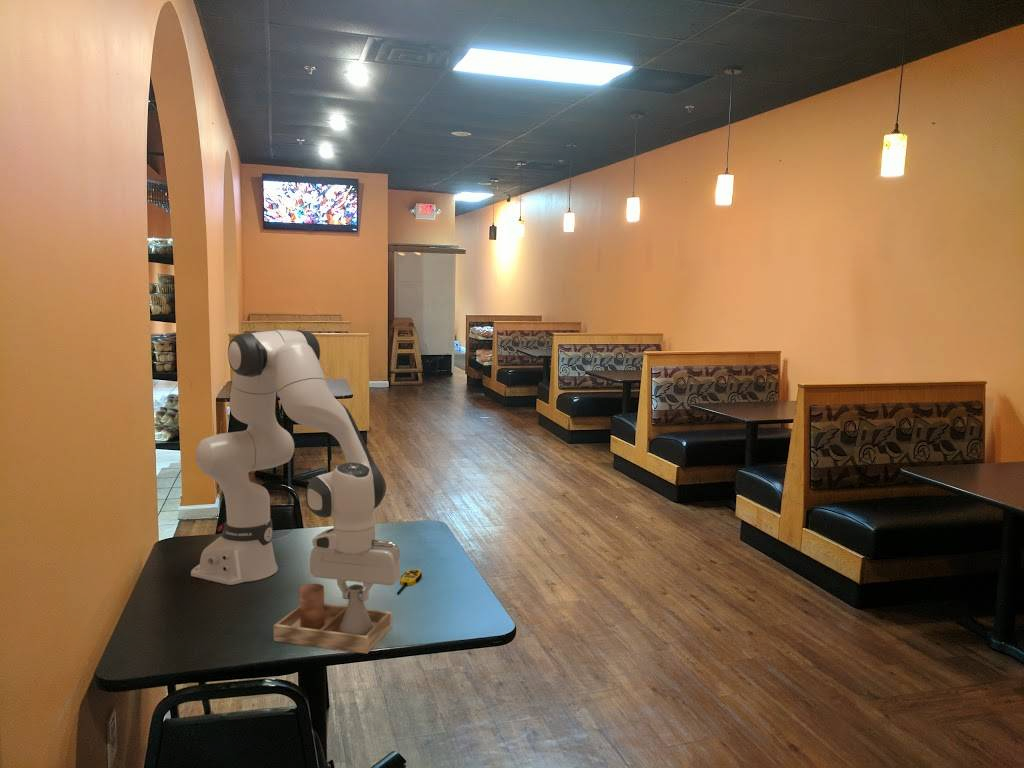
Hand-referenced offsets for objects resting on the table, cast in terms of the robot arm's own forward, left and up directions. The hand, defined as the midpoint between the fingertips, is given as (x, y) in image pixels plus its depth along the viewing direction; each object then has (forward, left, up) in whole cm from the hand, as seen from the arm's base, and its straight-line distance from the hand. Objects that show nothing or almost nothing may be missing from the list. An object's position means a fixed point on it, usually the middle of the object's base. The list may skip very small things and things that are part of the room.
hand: (355, 599), depth 158 cm
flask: (0, 0, -8) cm, 8 cm away
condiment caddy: (-5, 0, -9) cm, 10 cm away
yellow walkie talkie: (0, +31, -9) cm, 32 cm away
